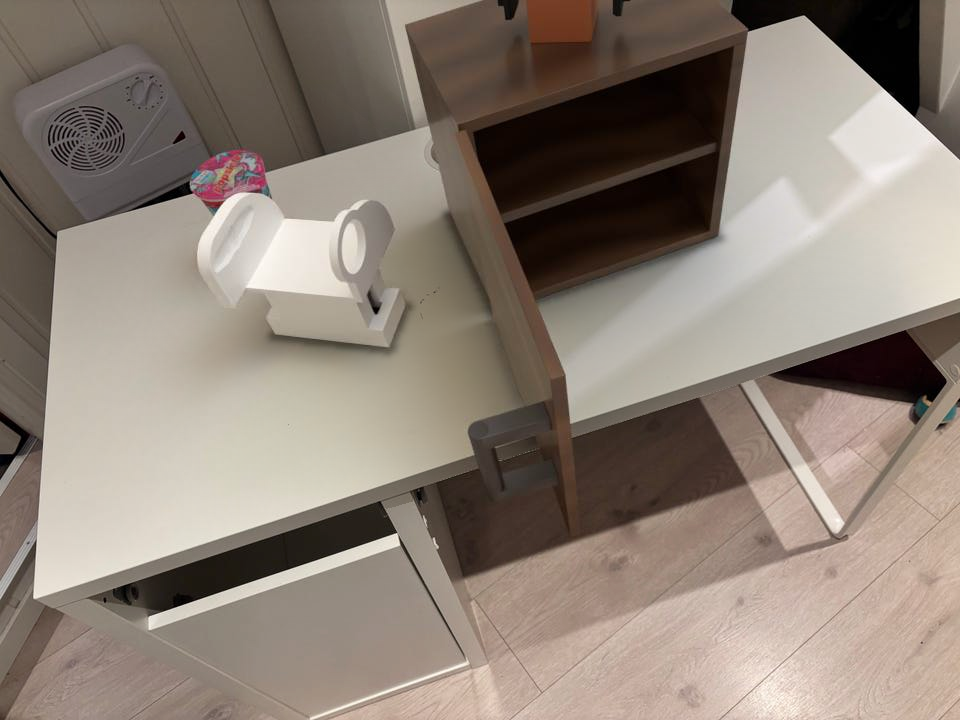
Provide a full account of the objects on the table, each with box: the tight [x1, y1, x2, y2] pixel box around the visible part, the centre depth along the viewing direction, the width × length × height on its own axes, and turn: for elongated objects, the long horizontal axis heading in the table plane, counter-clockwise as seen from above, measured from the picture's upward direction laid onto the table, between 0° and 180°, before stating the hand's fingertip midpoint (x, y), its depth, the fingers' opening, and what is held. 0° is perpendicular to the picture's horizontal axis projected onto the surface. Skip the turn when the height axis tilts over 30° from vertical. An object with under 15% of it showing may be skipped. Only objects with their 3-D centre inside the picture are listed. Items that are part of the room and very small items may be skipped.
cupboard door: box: [455, 130, 582, 539], centre depth 63 cm, size 7×26×24 cm, turn 14°
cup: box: [189, 149, 274, 217], centre depth 88 cm, size 9×8×12 cm
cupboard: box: [404, 0, 749, 300], centre depth 77 cm, size 18×26×24 cm
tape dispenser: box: [196, 193, 406, 348], centre depth 76 cm, size 14×13×18 cm
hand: (564, 10), depth 67 cm, fingers open, 9 cm apart
